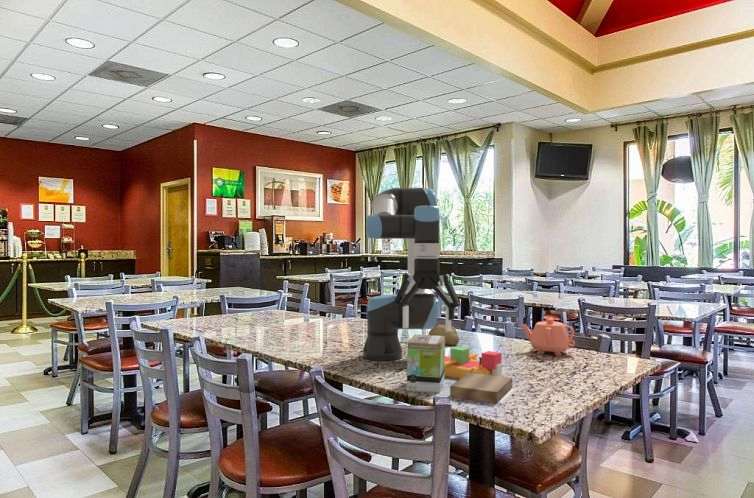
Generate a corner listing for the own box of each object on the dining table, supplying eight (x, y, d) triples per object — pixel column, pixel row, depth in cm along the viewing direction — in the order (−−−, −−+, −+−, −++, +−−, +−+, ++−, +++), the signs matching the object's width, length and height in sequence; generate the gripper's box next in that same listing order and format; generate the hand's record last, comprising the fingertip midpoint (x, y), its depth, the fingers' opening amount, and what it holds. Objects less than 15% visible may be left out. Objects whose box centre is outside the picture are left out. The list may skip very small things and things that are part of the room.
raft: (438, 362, 192) (438, 338, 192) (514, 376, 173) (514, 348, 173) (398, 374, 175) (399, 347, 175) (478, 391, 156) (479, 360, 155)
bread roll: (436, 339, 237) (436, 322, 237) (464, 344, 227) (464, 325, 227) (423, 342, 230) (423, 324, 230) (451, 347, 220) (451, 328, 220)
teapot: (519, 350, 213) (519, 317, 213) (551, 347, 221) (551, 315, 221) (549, 358, 199) (549, 322, 199) (581, 354, 206) (582, 320, 206)
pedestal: (450, 396, 145) (450, 385, 145) (469, 382, 160) (469, 372, 160) (497, 403, 139) (497, 392, 139) (512, 387, 154) (512, 377, 154)
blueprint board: (438, 397, 147) (438, 394, 147) (457, 384, 162) (457, 381, 162) (503, 406, 139) (503, 403, 139) (517, 391, 153) (517, 388, 153)
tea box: (441, 395, 149) (441, 343, 149) (405, 393, 151) (406, 342, 151) (445, 382, 164) (445, 334, 164) (412, 380, 166) (413, 333, 166)
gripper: (383, 257, 160) (383, 328, 160) (463, 258, 148) (463, 334, 148) (394, 257, 166) (394, 325, 166) (471, 258, 155) (471, 330, 155)
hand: (426, 329), depth 157 cm, fingers open, 13 cm apart
